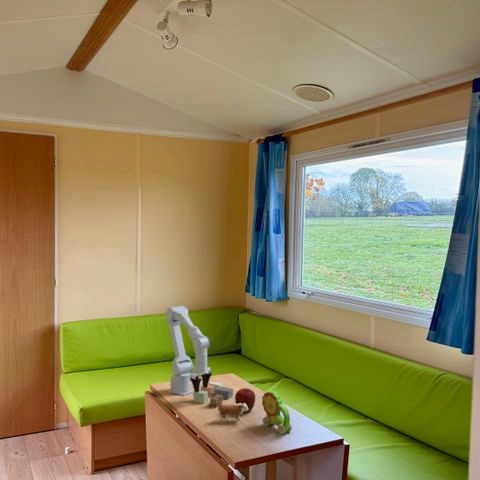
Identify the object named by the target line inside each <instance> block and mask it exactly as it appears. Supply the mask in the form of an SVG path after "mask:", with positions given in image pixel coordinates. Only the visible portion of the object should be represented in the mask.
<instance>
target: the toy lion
mask: <svg viewBox="0 0 480 480" xmlns="http://www.w3.org/2000/svg"><path fill="white" fill-rule="evenodd" d="M261 398H262V399H261V400H262V401H261V404H262V407H263V411H264V412H265V413H266V415H265V417H263V418H262V424H263V425H264V426H265V427H268V426H270V425H275V426H277V432H278V433H279V434H280V435H283V434H285V433H286V432H287V433H289V432H291V431H292V429H293V427H292V424H291V421H290V420H291V419H290V411H289V410H288V408H287V407H286V406H285V404H283V401H282V399H281V396H280V395H279V394H278V393H277V391H275V390H274V391H273V390H269V391H266V392H264V393H263V395H262V397H261ZM281 413H282V415H283V416H282V415H281Z"/></svg>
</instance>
